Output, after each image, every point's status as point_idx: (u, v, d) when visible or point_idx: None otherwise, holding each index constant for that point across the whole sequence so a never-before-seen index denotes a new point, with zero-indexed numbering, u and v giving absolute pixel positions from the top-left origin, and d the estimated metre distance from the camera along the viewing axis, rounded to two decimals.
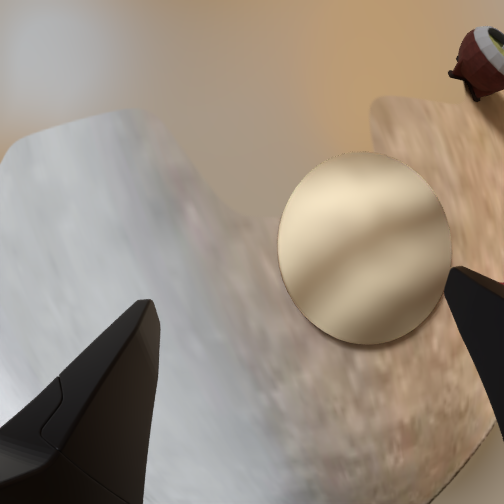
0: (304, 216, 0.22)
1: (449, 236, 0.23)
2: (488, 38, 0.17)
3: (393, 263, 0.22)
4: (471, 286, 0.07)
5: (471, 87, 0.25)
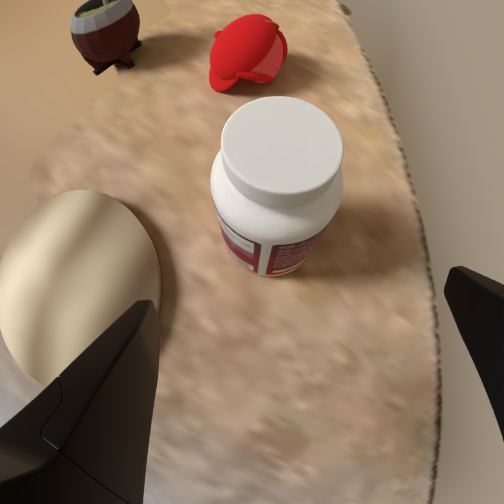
0: (7, 308, 0.19)
1: (128, 212, 0.21)
2: (74, 18, 0.19)
3: (82, 288, 0.19)
4: (471, 286, 0.07)
5: (120, 61, 0.26)
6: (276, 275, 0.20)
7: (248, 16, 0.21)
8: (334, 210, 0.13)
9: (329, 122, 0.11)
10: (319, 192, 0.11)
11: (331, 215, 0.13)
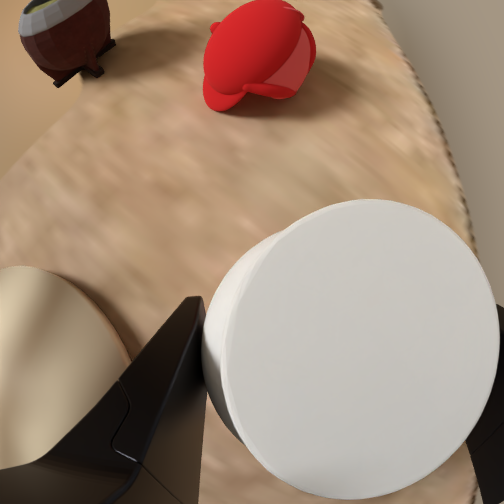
0: None
1: (88, 310, 0.13)
2: (21, 16, 0.12)
3: (43, 406, 0.12)
4: None
5: (87, 68, 0.19)
6: None
7: (260, 1, 0.13)
8: None
9: (481, 282, 0.04)
10: None
11: None
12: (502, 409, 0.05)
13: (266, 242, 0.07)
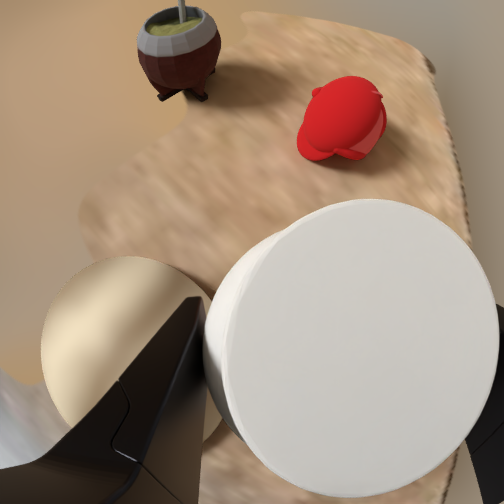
0: (56, 369, 0.19)
1: (206, 298, 0.20)
2: (144, 34, 0.19)
3: None
4: None
5: (191, 90, 0.26)
6: None
7: (354, 80, 0.20)
8: None
9: (481, 281, 0.04)
10: None
11: None
12: (503, 409, 0.05)
13: (267, 241, 0.07)
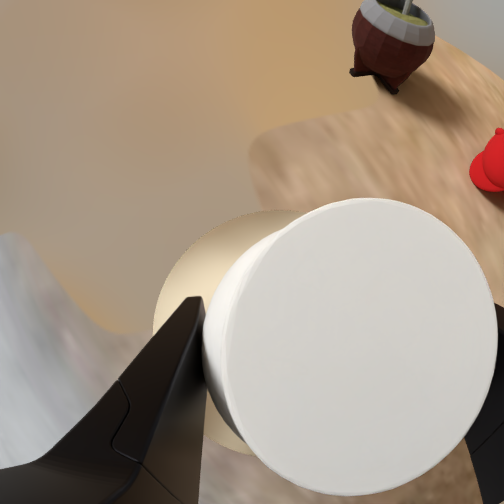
0: None
1: None
2: (377, 6, 0.16)
3: None
4: None
5: (383, 79, 0.23)
6: None
7: None
8: None
9: (479, 280, 0.04)
10: None
11: None
12: (502, 409, 0.05)
13: (266, 241, 0.07)
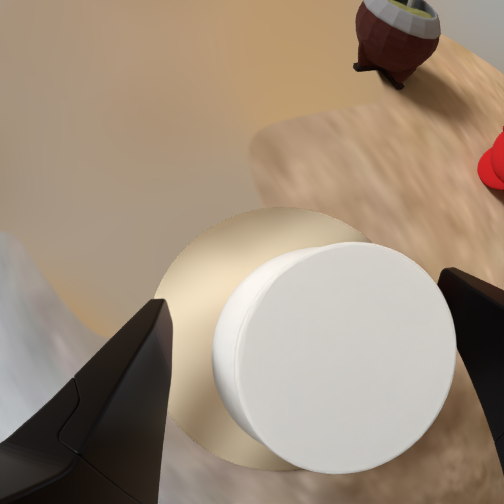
0: (173, 329, 0.16)
1: None
2: None
3: None
4: (462, 288, 0.07)
5: (388, 74, 0.22)
6: None
7: None
8: None
9: (441, 306, 0.06)
10: None
11: None
12: None
13: (266, 266, 0.08)
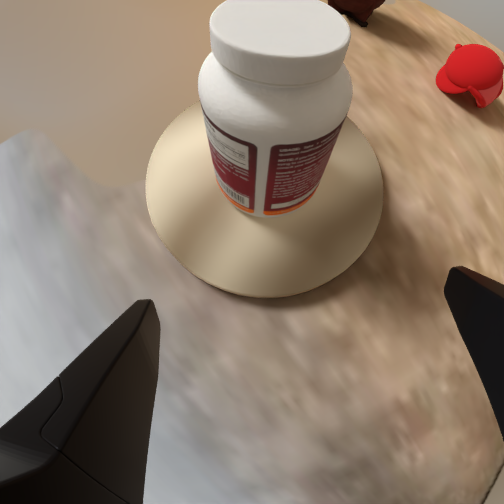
0: (170, 163, 0.19)
1: (366, 140, 0.19)
2: None
3: None
4: (471, 286, 0.07)
5: (354, 16, 0.25)
6: (276, 215, 0.17)
7: (487, 48, 0.18)
8: (344, 107, 0.10)
9: (331, 10, 0.08)
10: (326, 67, 0.08)
11: (341, 112, 0.10)
12: None
13: None
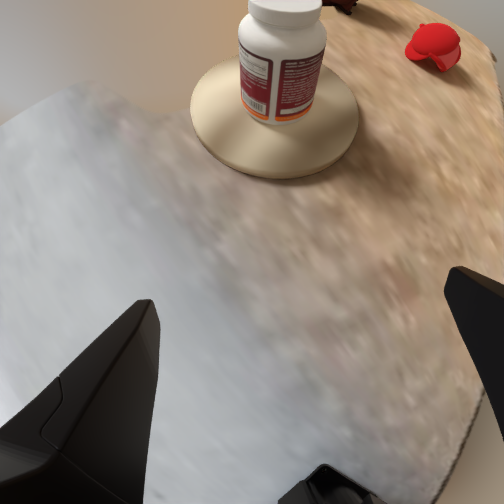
0: (208, 95, 0.25)
1: (345, 85, 0.26)
2: None
3: None
4: (471, 286, 0.07)
5: (341, 7, 0.32)
6: (283, 121, 0.24)
7: (445, 25, 0.25)
8: (321, 42, 0.17)
9: None
10: (308, 18, 0.15)
11: (319, 44, 0.17)
12: None
13: None
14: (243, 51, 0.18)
